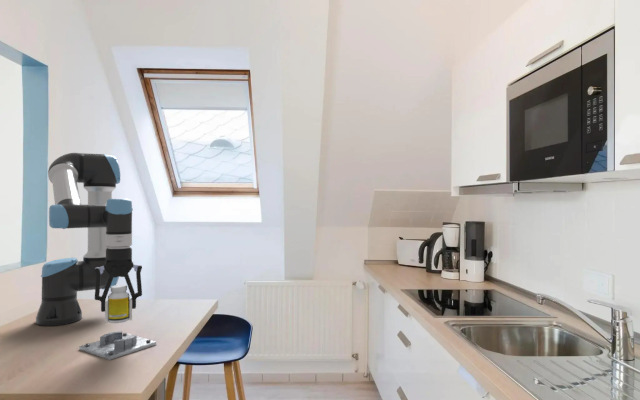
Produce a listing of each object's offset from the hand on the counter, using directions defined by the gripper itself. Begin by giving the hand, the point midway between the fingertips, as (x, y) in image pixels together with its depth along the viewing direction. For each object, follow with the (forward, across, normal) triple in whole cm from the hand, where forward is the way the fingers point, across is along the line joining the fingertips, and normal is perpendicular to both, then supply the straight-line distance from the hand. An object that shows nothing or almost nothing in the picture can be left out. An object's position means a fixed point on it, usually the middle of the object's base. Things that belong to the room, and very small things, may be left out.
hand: (118, 320), depth 137 cm
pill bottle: (+1, 0, 0) cm, 1 cm away
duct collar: (+9, 0, 0) cm, 9 cm away
